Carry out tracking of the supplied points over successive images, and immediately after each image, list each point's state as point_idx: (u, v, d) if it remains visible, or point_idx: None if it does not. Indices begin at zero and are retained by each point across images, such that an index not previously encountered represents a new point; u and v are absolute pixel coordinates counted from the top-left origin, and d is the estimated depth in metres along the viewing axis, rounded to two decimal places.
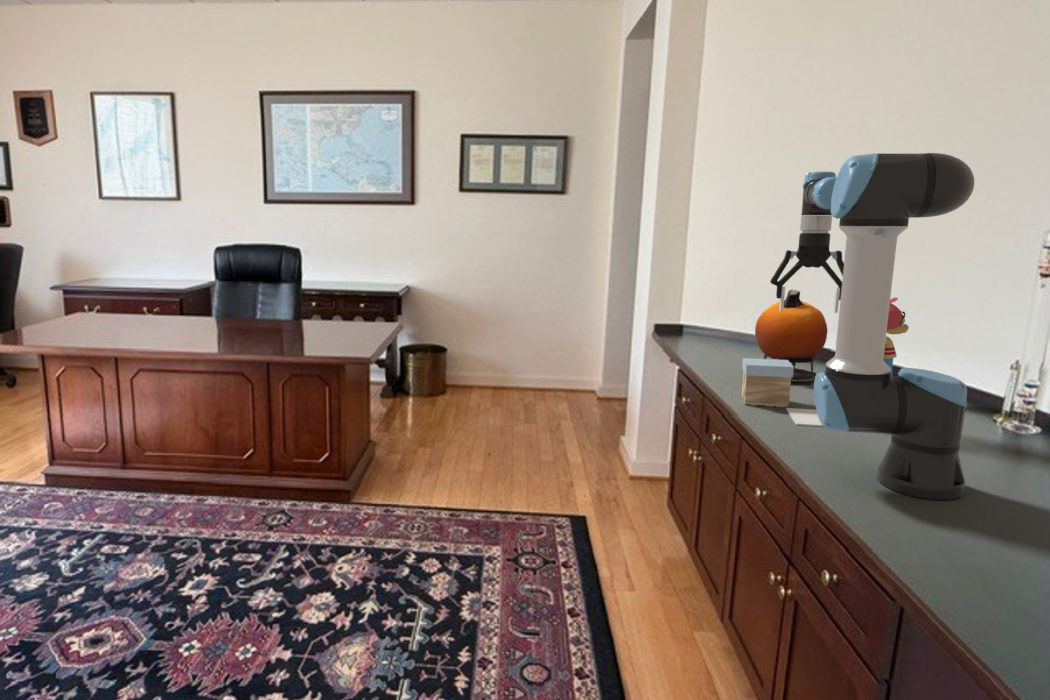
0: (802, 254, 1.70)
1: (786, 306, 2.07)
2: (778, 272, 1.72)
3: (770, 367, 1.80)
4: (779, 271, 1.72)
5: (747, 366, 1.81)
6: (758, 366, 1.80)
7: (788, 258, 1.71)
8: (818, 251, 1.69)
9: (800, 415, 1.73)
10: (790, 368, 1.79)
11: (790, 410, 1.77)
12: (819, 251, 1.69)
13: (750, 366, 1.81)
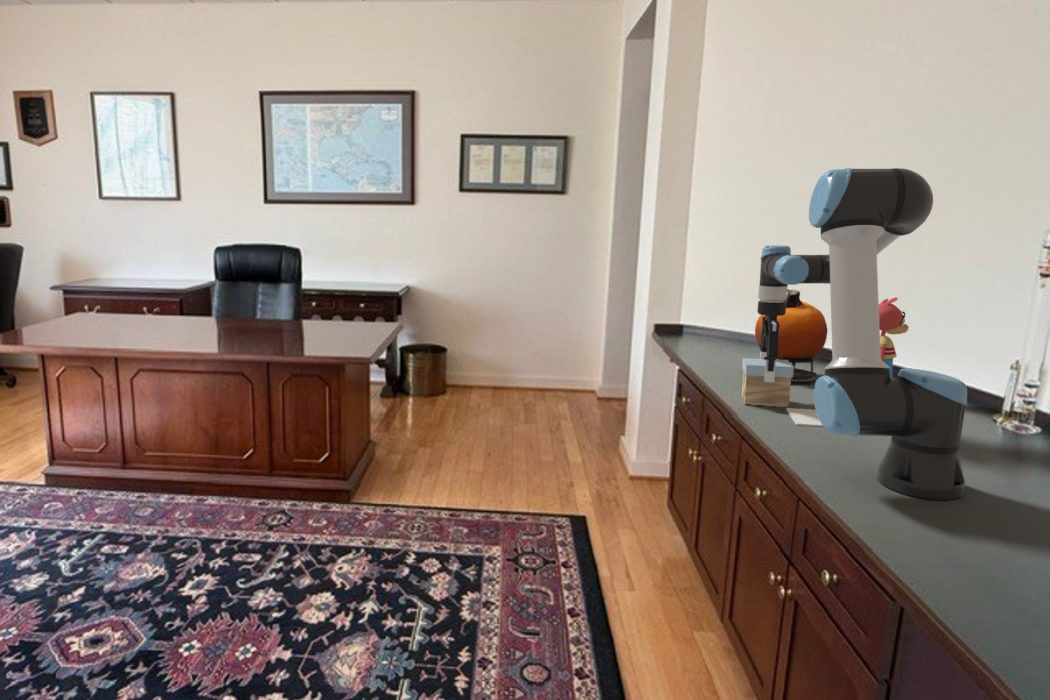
0: (765, 319, 1.84)
1: (786, 306, 2.07)
2: (761, 337, 1.90)
3: None
4: (761, 336, 1.90)
5: (747, 366, 1.81)
6: (758, 366, 1.80)
7: None
8: (767, 317, 1.80)
9: (800, 415, 1.73)
10: (790, 368, 1.79)
11: (790, 410, 1.77)
12: (767, 317, 1.80)
13: (750, 366, 1.81)
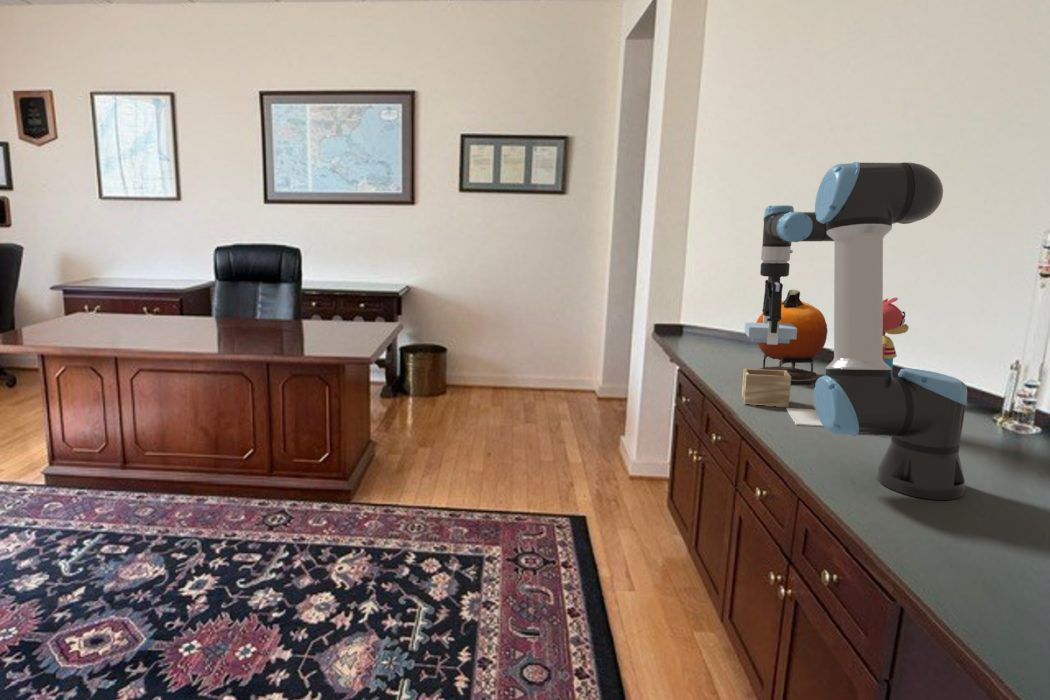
0: (768, 281, 1.82)
1: (786, 306, 2.07)
2: None
3: None
4: (764, 300, 1.87)
5: (750, 328, 1.79)
6: (761, 328, 1.78)
7: None
8: (770, 278, 1.78)
9: (800, 415, 1.73)
10: (793, 329, 1.76)
11: (790, 410, 1.77)
12: (770, 278, 1.78)
13: (753, 328, 1.78)
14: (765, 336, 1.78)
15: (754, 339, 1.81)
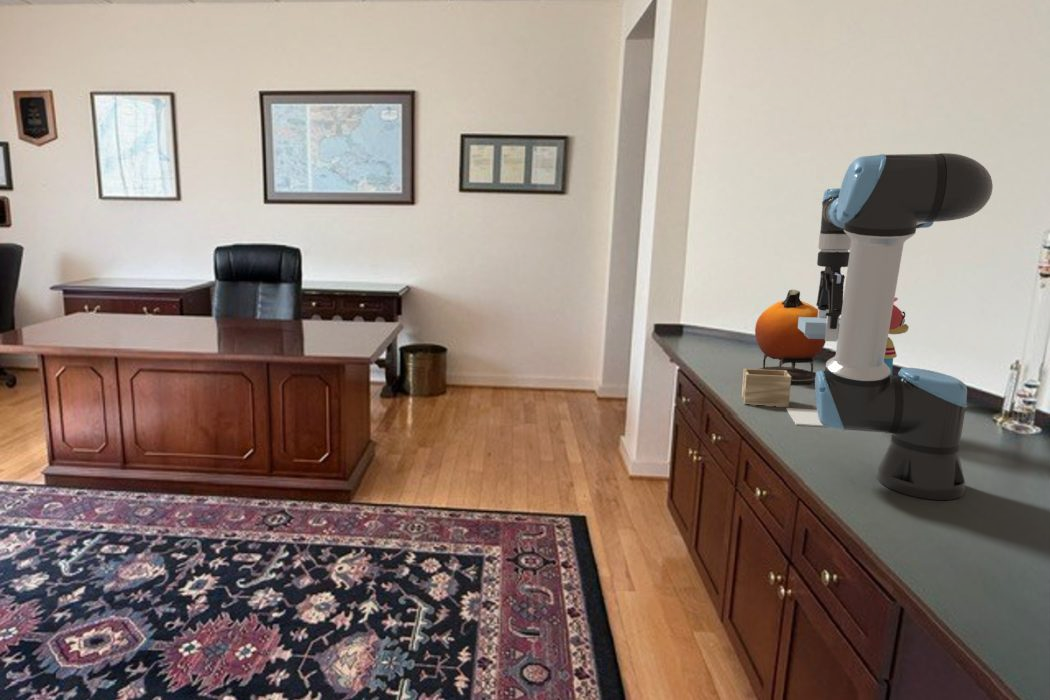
0: (825, 272, 1.66)
1: (786, 306, 2.07)
2: (818, 293, 1.72)
3: None
4: (818, 292, 1.72)
5: (806, 324, 1.63)
6: (819, 323, 1.62)
7: (821, 278, 1.70)
8: (829, 269, 1.62)
9: (800, 415, 1.73)
10: None
11: (790, 410, 1.77)
12: (829, 269, 1.62)
13: (810, 324, 1.63)
14: (823, 332, 1.63)
15: (810, 335, 1.65)
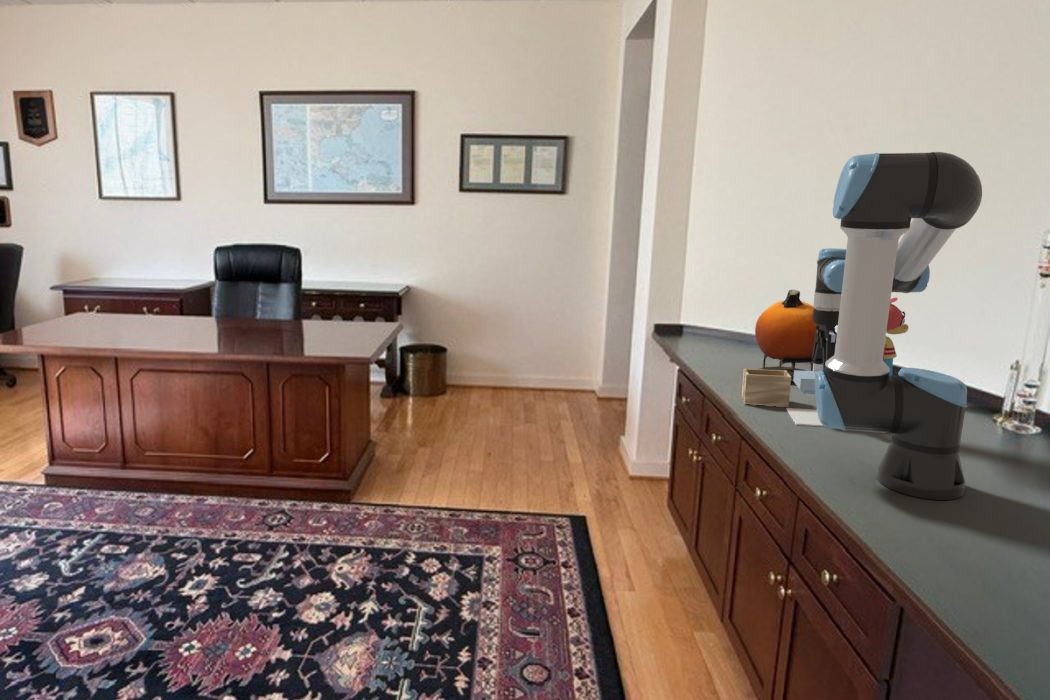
0: (820, 328, 1.69)
1: (786, 306, 2.07)
2: (813, 347, 1.75)
3: None
4: (814, 346, 1.75)
5: (801, 380, 1.66)
6: (814, 380, 1.66)
7: (816, 333, 1.73)
8: (824, 326, 1.65)
9: (800, 415, 1.73)
10: None
11: (790, 410, 1.77)
12: (824, 327, 1.65)
13: (805, 380, 1.66)
14: None
15: (805, 390, 1.68)
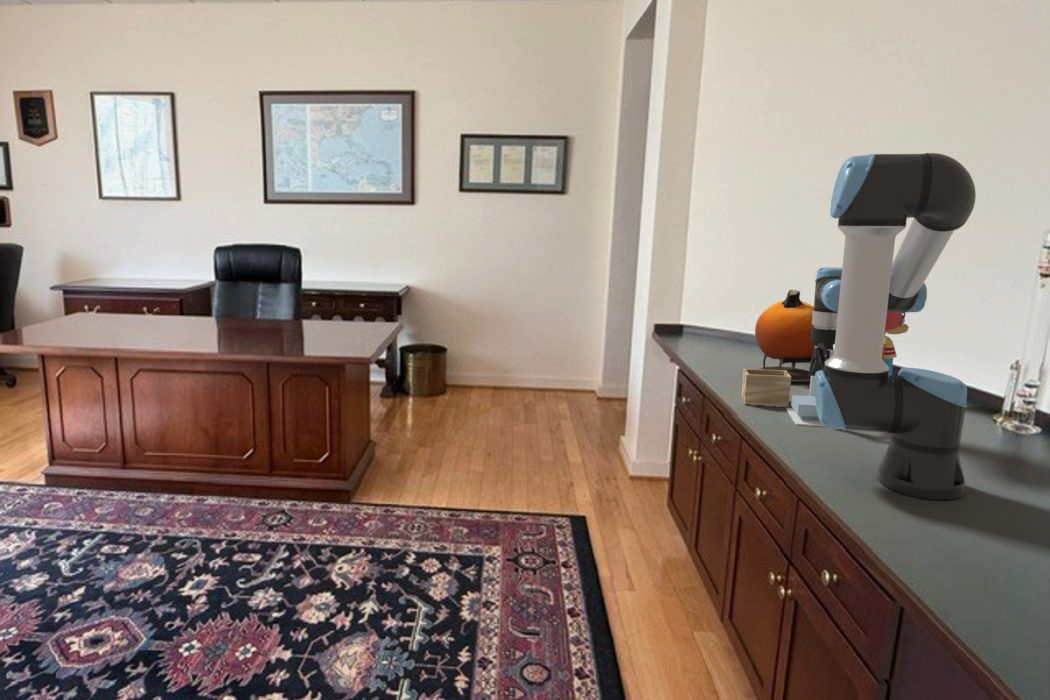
0: (818, 346, 1.70)
1: (786, 306, 2.07)
2: (811, 360, 1.77)
3: None
4: None
5: (799, 406, 1.67)
6: (811, 406, 1.67)
7: (814, 348, 1.74)
8: (822, 346, 1.67)
9: None
10: None
11: (790, 410, 1.77)
12: (822, 346, 1.66)
13: (803, 406, 1.67)
14: (815, 414, 1.67)
15: (803, 416, 1.70)
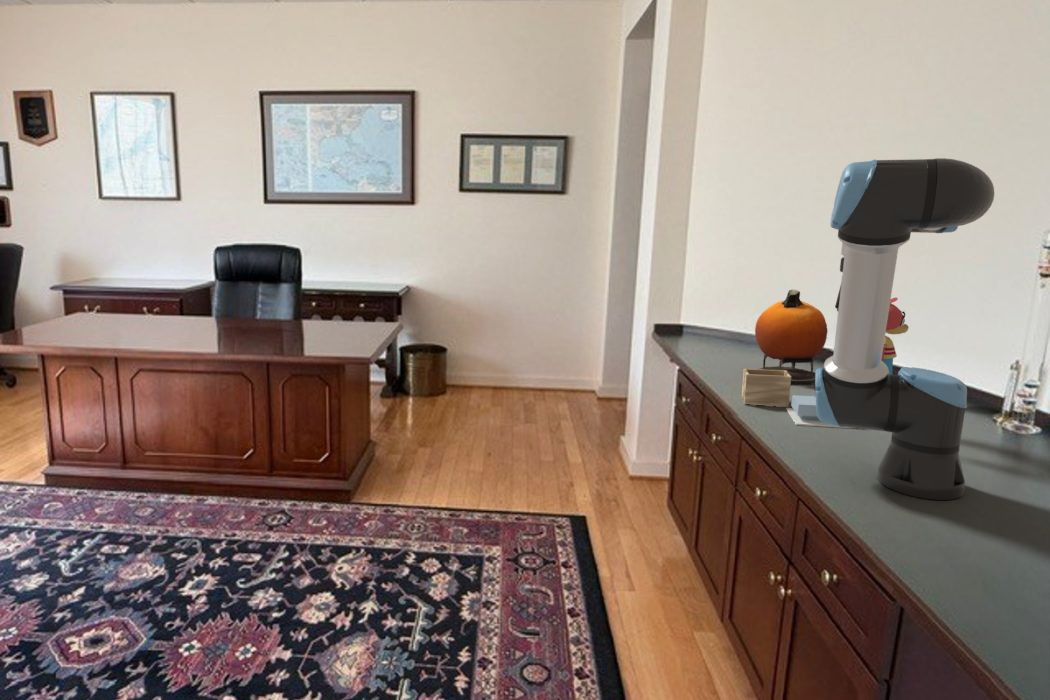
0: None
1: (786, 306, 2.07)
2: (838, 296, 1.68)
3: None
4: (838, 295, 1.68)
5: (799, 406, 1.67)
6: (811, 406, 1.67)
7: (842, 282, 1.66)
8: None
9: None
10: None
11: (790, 410, 1.77)
12: None
13: (803, 406, 1.67)
14: (815, 414, 1.67)
15: (803, 416, 1.70)
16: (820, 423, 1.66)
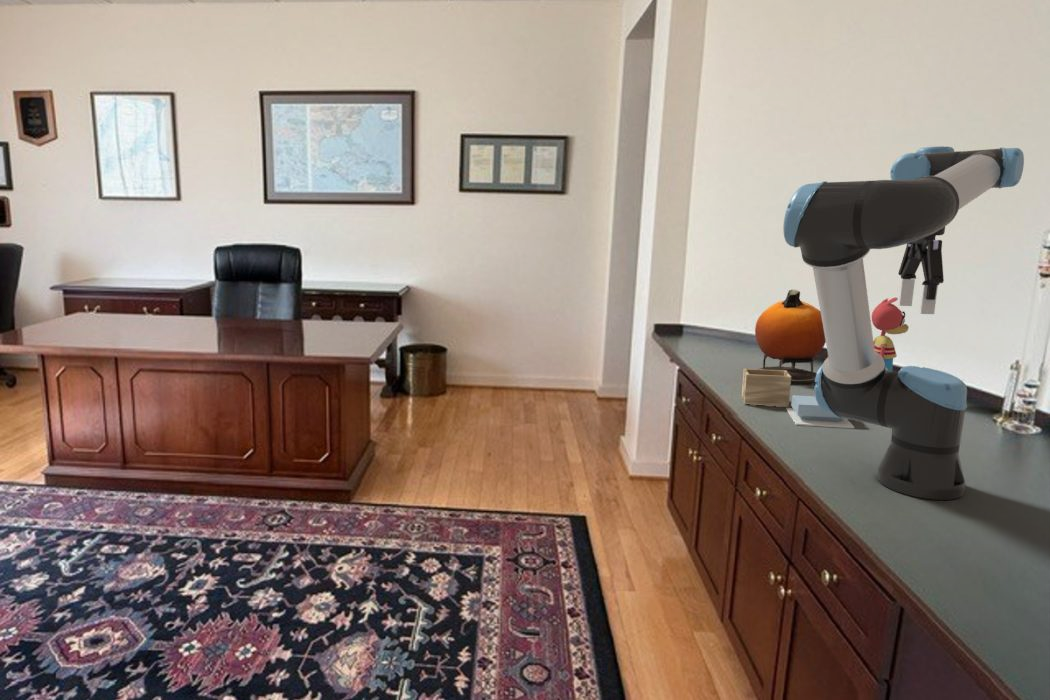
0: (913, 243, 1.50)
1: (786, 306, 2.07)
2: (902, 262, 1.56)
3: None
4: (902, 261, 1.56)
5: (799, 406, 1.67)
6: (811, 406, 1.67)
7: (907, 247, 1.53)
8: (920, 240, 1.46)
9: None
10: None
11: (790, 410, 1.77)
12: (921, 240, 1.46)
13: (803, 406, 1.67)
14: (815, 414, 1.67)
15: (803, 416, 1.70)
16: (820, 423, 1.66)
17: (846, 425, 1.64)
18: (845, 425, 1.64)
